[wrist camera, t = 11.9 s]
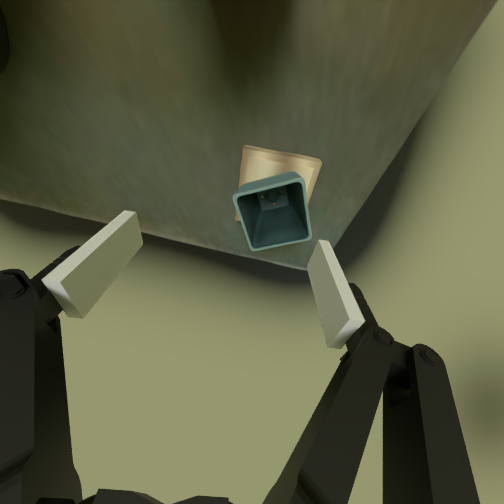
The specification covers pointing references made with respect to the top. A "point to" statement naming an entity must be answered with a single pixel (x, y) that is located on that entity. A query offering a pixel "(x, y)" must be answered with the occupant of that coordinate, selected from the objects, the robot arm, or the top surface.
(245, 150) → the oak stand
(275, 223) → the flower pot
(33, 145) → the top surface
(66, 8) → the top surface
